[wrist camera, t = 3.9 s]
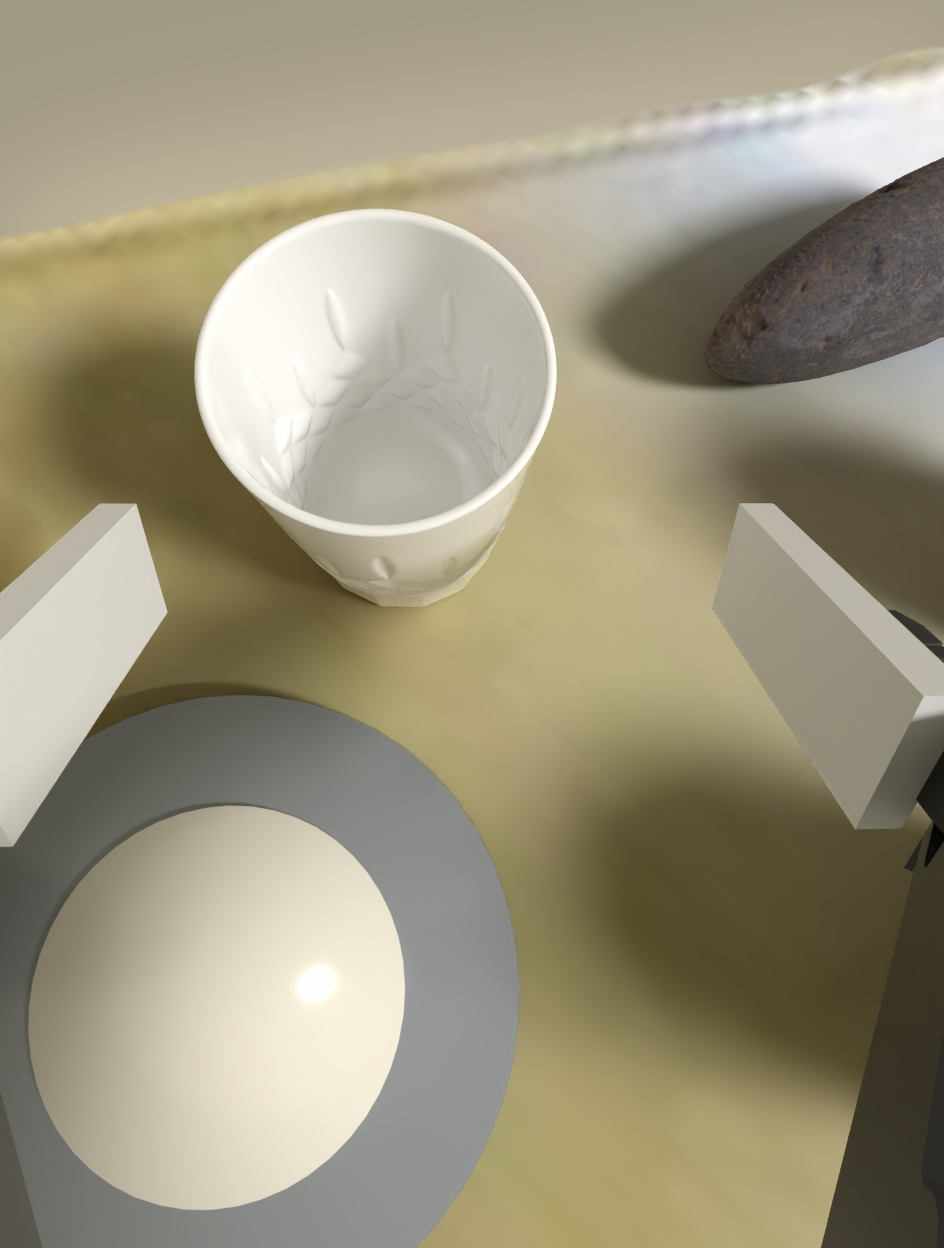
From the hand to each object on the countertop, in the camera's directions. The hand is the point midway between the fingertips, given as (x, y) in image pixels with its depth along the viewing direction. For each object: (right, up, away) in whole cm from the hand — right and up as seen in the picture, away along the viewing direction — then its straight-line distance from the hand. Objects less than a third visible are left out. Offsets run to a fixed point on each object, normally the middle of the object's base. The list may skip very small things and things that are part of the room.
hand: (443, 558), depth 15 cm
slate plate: (-7, -13, +6) cm, 16 cm away
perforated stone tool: (+16, +10, +12) cm, 22 cm away
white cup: (-2, +2, +10) cm, 10 cm away
